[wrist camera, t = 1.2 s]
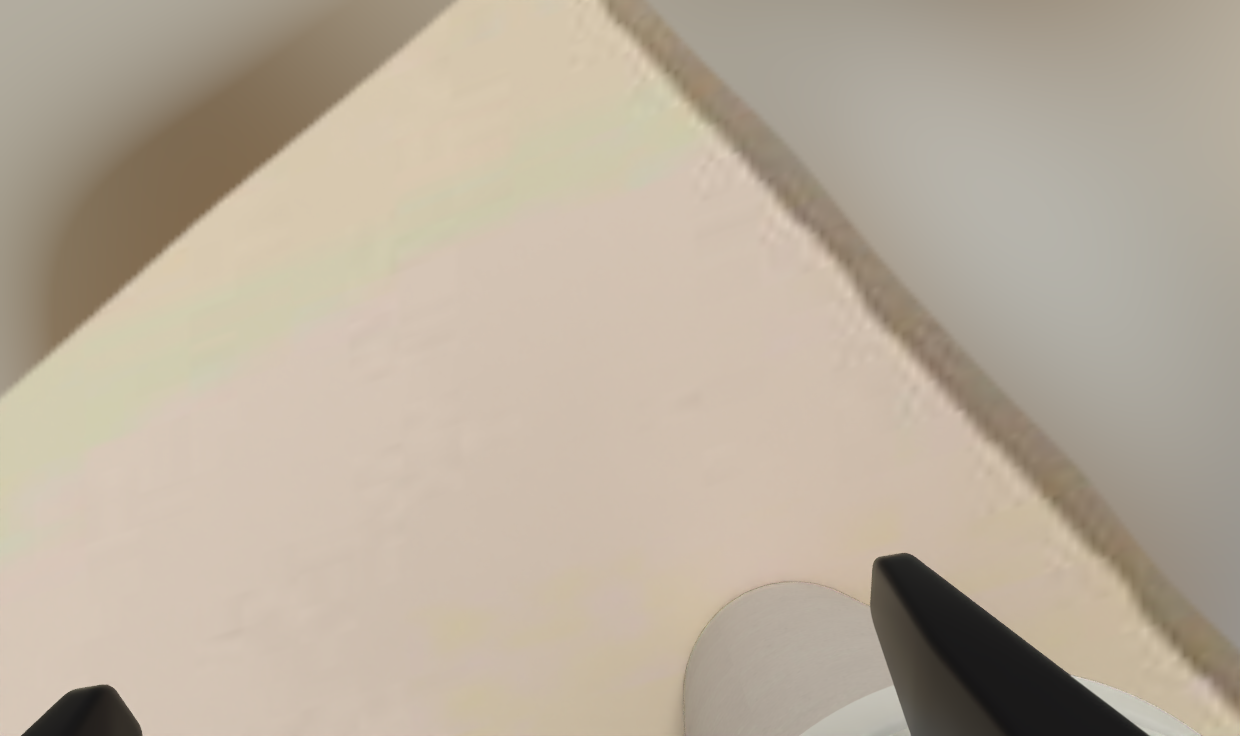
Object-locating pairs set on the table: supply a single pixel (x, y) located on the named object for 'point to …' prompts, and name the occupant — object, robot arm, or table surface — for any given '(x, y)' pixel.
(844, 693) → the coffee cup
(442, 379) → the table surface
